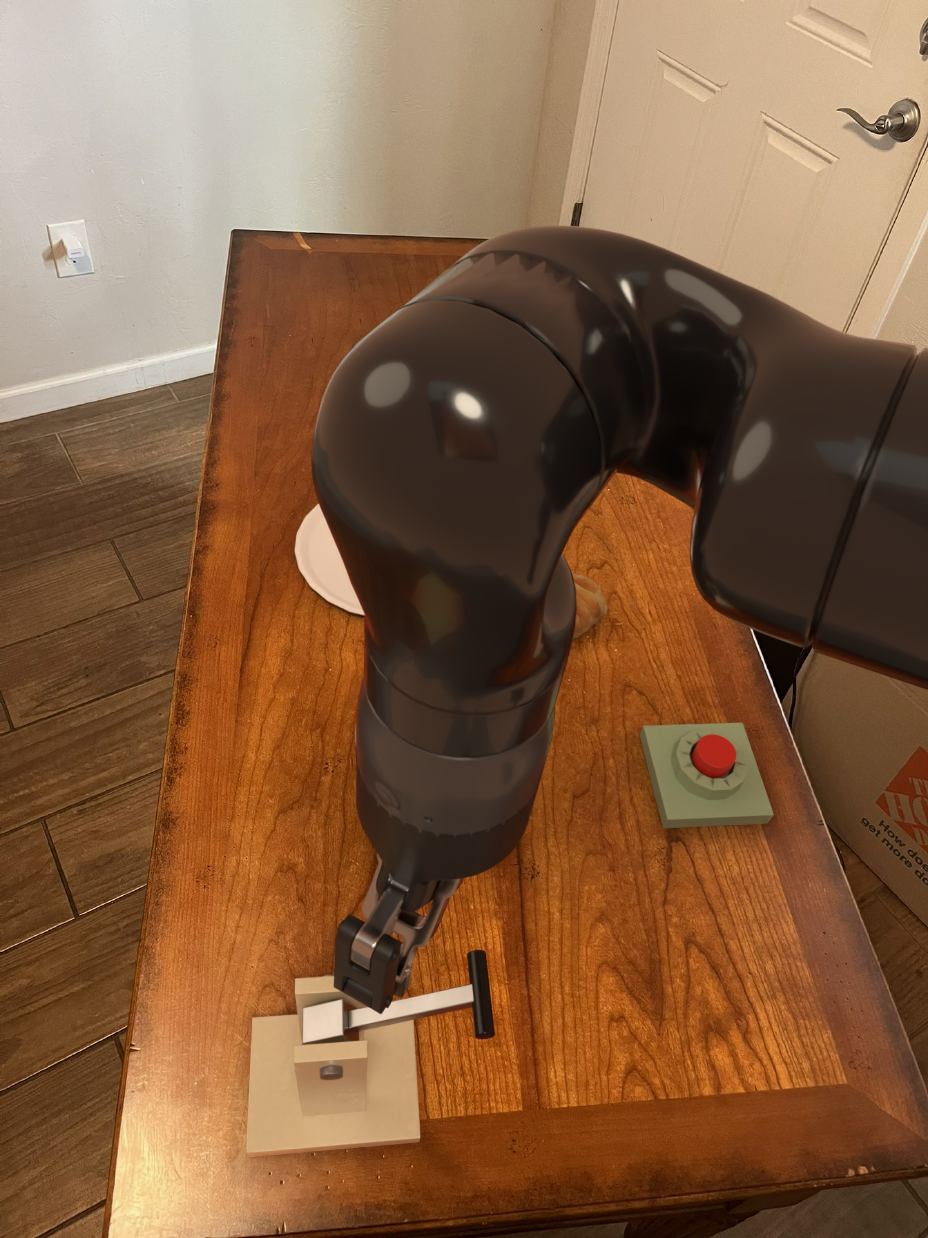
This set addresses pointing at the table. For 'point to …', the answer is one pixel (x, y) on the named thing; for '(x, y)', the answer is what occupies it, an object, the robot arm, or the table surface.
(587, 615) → the pastry
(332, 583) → the plate
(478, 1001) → the lever
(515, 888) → the table surface
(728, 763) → the button
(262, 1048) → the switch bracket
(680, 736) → the button block
